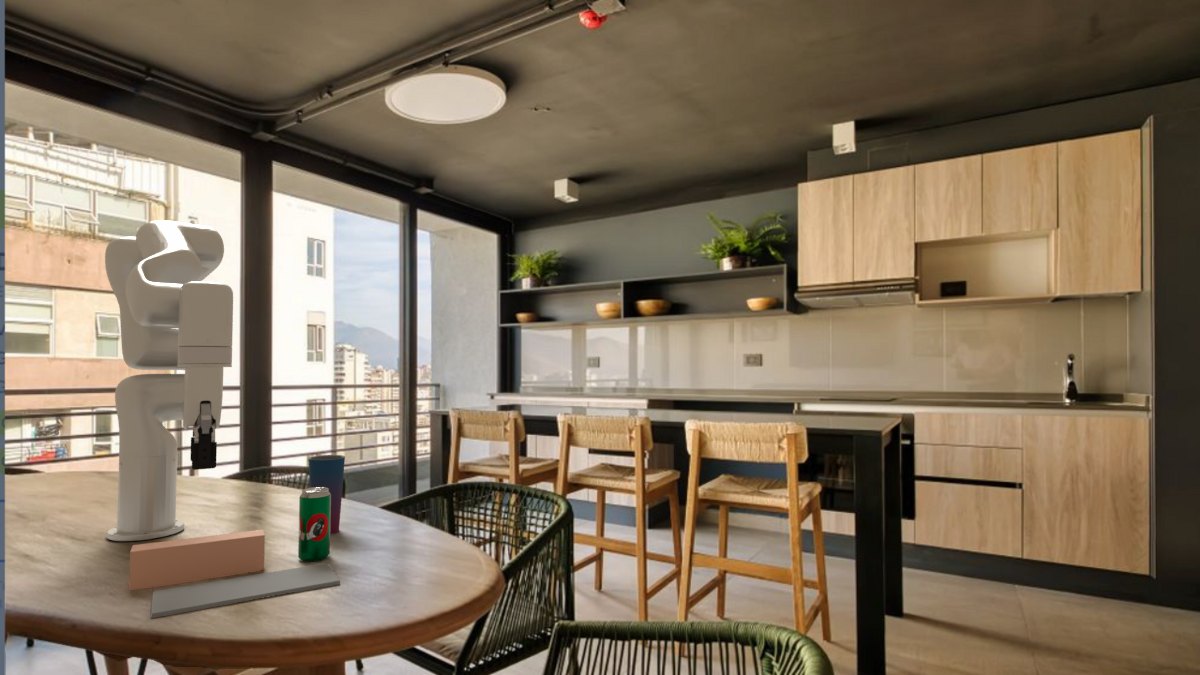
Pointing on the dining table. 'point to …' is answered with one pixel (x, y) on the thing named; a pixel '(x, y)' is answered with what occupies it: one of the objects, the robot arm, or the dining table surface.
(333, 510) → the cup
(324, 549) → the soda can
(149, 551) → the peach wooden plank
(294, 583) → the mat
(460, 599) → the dining table surface
